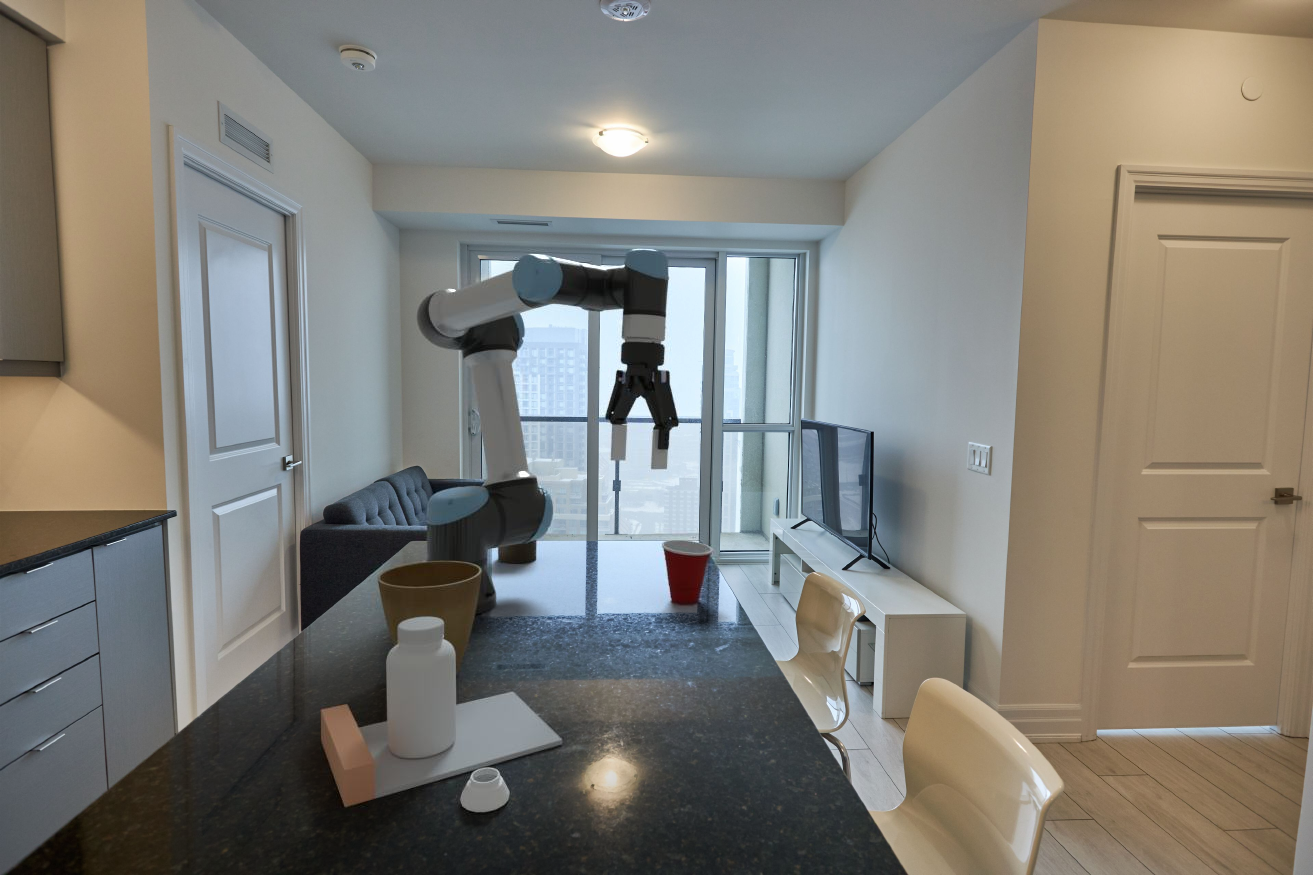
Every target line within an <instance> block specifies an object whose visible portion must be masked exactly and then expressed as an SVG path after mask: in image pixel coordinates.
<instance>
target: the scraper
mask: <svg viewBox="0 0 1313 875" xmlns="http://www.w3.org/2000/svg"><path fill="white" fill-rule="evenodd" d="M320 728H321V729H320V731H321V732H320V733H321V734H320V735H321V736H320V738H321V739H320V740H321V744H322V747H323V750H324V752H325V755H326V759H327V760H328V761H327V762H328V763H329V764H328V765H329V766H330V769H331V770H330V771H331V773H332V774H333V775H332V776H333V778H334V780H335V785H336V786H337V789H338V791H339V794H340V797H341V798H340V799H341V801H342V803H343V806H344V808H348V807H350V806H354V805H358V804H361V803H364V802H367V801H371V800H375V799H379V798H382V797H386V796H389V795H392V794H395V793H396V794H397V793H398V792H402V791H405V790H409V789H411V788H416V787H419V786H423V785H427V784H430V783H433V782H437V781H440V780H444V779H447V778H451V777H454V776H457V775H460V774H464V773H468V772H472V771H476V770H478V769H481V768H486V767H488V766H491V765H495V764H500V763H502V762H507V761H509V760H512V759H515V758H519V757H523V756H526V755H530V754H533V753H536V752H540V751H543V750H547V749H551V748H555V747H557V746H561V745H563V739H562V738H561V737H560V736H559V735H558V734H557V733H556V732H555V731H554V730H553V729H552V728H551V727H550V726H549V725H548V724H547V723H546V722H545V721H544V720H543V719H542V718H541V717H540V716H539V715H538V714H537V713H536V712H534V711H533V710H532V709H531V708H530V707H529V706H528V705H527V704H526V702H525V701H524V700H522V699H521V698H520V697H519V696H518V694H517V693H515V692H514V691H509V692H505V693H500V694H496V695H492V696H488V697H484V698H480V699H475V700H472V701H466V702H463V703H458V704H457V703H456V738H455V741H454V743H453V744H452V745H451V746H450V747H449V748H448V749H446V750H445V751H443V752H441V753H438V754H436V755H433V756H429V757H424V758H402V757H398V756H396V755H394V754H393V753H392V752H391V751H390V749H389V746H388V730H387V720H385V721H382V722H377V723H372V724H368V725H365V726H361V727H359V726H358V723H357V722H356V719H355V717H354V715H353V713H352V711H351V708H350V707H349V705H348V703H346V704H341V705H336V706H332V707H331V706H330V707H327V708H322V709H320Z"/></svg>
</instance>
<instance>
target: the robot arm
mask: <svg viewBox="0 0 1313 875" xmlns="http://www.w3.org/2000/svg"><path fill="white" fill-rule="evenodd" d="M669 280H670V277H669V258H668V256H667V254H666V253H665V252H663V251H660V250H656V249H648V248H636V249H631V250H629V251H627V252H626V253H625V257H624V262H623V265H620V266H611V267H610V266H609V267H608V266H606V267H605V266H599V265H593V264H588V263H582V262H578V261H572V260H568V259H563V258H558V257H553V256H550V255H546V254H535V253H529V254H525V255H522V256H520V257H519V259H518V261H517V262H515V264H514V266H513V268H512V270H509V271H506V272H503V273H500V274H497V275H495V276H493V277H489V278H487V279H484V280H481V281H478V282H475V283H473V284H470V285H467V286H465V287H461V288H458V289H456V290H455V289H452V288H443V289H440V290H437V291H435V292H432V293H430V294H428V295H427V296H426V297H425V298H423V300H422V301H421V302H420V304H419V306H418V308H417V313H416V323H417V327H418V329H419V331H420V332H421V334H422V335H423V337H424V338H425V339H426V340H427V341H428V342H430V343H431V344H433V345H434V346H436V347H438V348H441V349H445V350H453V351H454V350H456V351H461V353H462V360H463V363H464V364H465V365H466V366H468V367H469V368H470V369H471V370H472V378H473V386H474V391H475V392H474V393H475V398H476V403H477V405H476V406H477V411H478V418H479V423H480V424H479V425H480V430H481V431H480V432H481V437H482V438H481V439H482V444H483V450H484V451H483V452H484V458H485V464H486V471H487V478H486V480H485V481H484V482H483V484H482V485H479V486H478V485H467V486H457V487H451V488H447V489H443V490H440V491H437V492H436V493H434V494H433V495H431V497H430V498H428V500H427V508H426V516H425V522H426V562H429V561H460V562H467V563H472V564H475V565H477V566H479V567H480V568H481V570H482V571H481V581H480V588H479V595H478V601H477V606H476V611H475V615H479V614H482V613H485V612H488V611H491V610H492V609H493V608H495V607H496V605H497V590H496V589H495V585H494V583H493V579H492V577H491V574H490V570H489V567H488V565H489V564H488V553H489V552H488V550H490V549H498V547H504V546H509V545H515V544H524V543H528V542H529V541H534V540H537V541H538V540H540V539H541V538H542V537H544V536H545V535H546V533H547V532H548V531H549V528H550V527H551V525H552V520H553V516H554V506H553V499H552V497H551V495H550V493H548V490H547V489H546V488H544V487H543V486H540V485H539V483H538V478H537V476H536V474H534V473H532V472H531V471H530V470H529V464H528V459H527V454H526V446H525V440H524V434H523V428H522V421H521V414H520V409H519V408H520V407H519V402H518V395H517V388H516V382H515V377H514V370H513V369H514V368H513V363H514V361H515V360H516V358H518V351H519V350H520V349H521V348H522V346H523V344H524V339H523V338H524V337H525V334H526V333H525V332H526V329H525V323H524V319H523V316H522V314H521V313H524V312H527V311H528V312H529V311H531V310H535V309H539V308H542V307H547V306H549V305H562V306H570V307H576V308H581V309H582V310H584V311H588V312H597V313H598V312H599V313H601V312H604V311H614V310H622V321H621V322H622V324H621V339H623V341H624V342H622V343H621V345H620V363H621V364H623V365H626V369H625V370H624V369H617V370H616V371H615V372H616V373H615V380H614V381H615V382H614V385H613V388H612V391H611V394H610V397H609V398H610V399H609V402H608V404H607V405H608V406H607V409H606V412H605V416H604V417H605V420H606V421H609V423H610V424H611V440H610V441H611V442H610V461H614V462H616V461H618V462H619V461H626V457H627V456H626V454H627V435H628V434H627V433H628V422H627V418H628V416H629V414H630V412H631V410H632V409H633V407H634V404H635V403H636V400H637V399H638V398H640V397H642V399H643V400H644V401H645V403H646V405H647V408H648V410H649V413H650V415H651V418H652V420H653V423H654V426H653V427H652V438H651V440H652V442H651V458H650V462H651V463H650V470H668V458H669V457H668V456H669V455H668V454H669V453H668V452H669V448H670V432H671V431H672V429H673V428H678V427H679V422H680V421H679V418H678V413H677V409H676V408H677V407H676V404H675V399H674V396H673V390H672V388H671V377H670V376H671V374H670V370H668V369H667V370H665V369H659V367H663V365H664V364H665V353H666V351H665V350H666V348H665V347H666V346H665V345H664V344H663V343H662V342H664V341H666V328H667V327H666V322H667V320H666V318H667V304H668V302H667V301H668V291H669V290H668V288H669Z"/></svg>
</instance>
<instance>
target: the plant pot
mask: <svg viewBox="0 0 1313 875" xmlns="http://www.w3.org/2000/svg"><path fill="white" fill-rule="evenodd" d="M481 571H482V570H481V568H480V567H479V566H477V565H475V564H472V563H467V562H460V561H429V562H427V561H421V562H413V563H407V564H402V565H398V566H395V567H392V568H389V569H386V570H384V571H382V572H381V573H379V575H378V576H377V582H378V589H379V594H380V595H379V596H380V600H381V603H382V604H381V605H382V609H383V613H384V618H385V622H386V625H387V629H388V632H389V636H390V638H391V642H392V645H393V647H394V646H396V645H397V644H398V625H399V624H400V623H401V622H403V621H405V620H408V619H411V618H417V617H436V618H440V619H442V620H443V622H444V640H446V641H448V642H449V643H451V644H452V646H453V647H454V650H455V656H456V676H457V675H458V673H459V669H460V667H461V666H462V662H463V659H464V655H465V654H466V650H467V647H468V643H469V641H470V640H469V639H470V637H471V633H472V629H473V623H474V621H475V616H476V614H475V611H476V606H477V601H478V595H479V588H480V581H481Z"/></svg>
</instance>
